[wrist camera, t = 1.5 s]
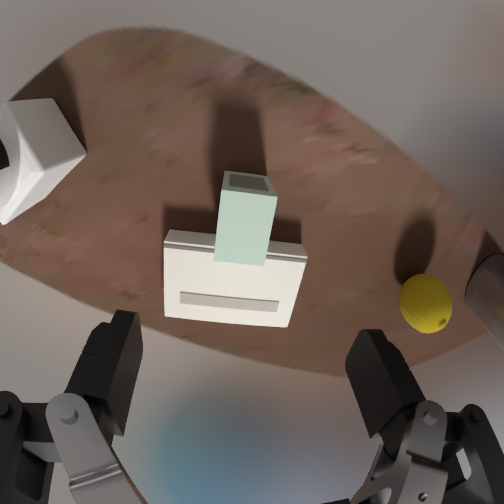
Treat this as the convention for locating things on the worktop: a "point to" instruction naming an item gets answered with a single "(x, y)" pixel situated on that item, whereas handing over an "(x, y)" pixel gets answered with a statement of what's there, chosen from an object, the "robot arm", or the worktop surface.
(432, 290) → the lemon
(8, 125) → the medicine bottle
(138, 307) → the worktop surface
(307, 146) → the worktop surface
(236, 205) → the pale green block
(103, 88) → the worktop surface
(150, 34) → the worktop surface
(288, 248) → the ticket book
